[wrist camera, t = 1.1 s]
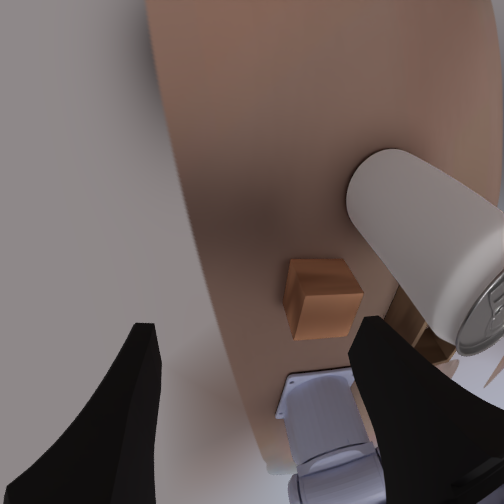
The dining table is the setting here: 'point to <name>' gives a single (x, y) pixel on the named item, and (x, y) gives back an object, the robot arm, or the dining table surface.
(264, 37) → the dining table surface
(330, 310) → the block
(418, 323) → the brown rectangular box
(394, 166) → the can
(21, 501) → the robot arm
